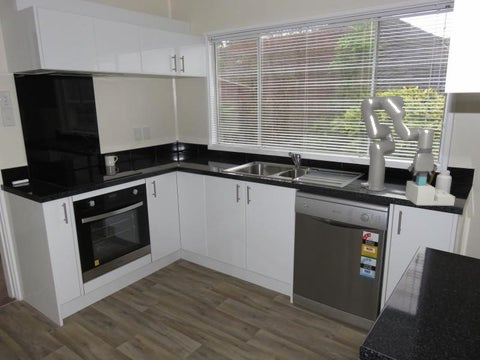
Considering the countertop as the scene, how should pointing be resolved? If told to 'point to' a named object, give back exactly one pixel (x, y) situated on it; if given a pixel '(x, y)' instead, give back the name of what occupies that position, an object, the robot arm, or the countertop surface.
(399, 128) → the robot arm
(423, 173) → the light blue block
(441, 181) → the pill bottle
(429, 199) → the console
